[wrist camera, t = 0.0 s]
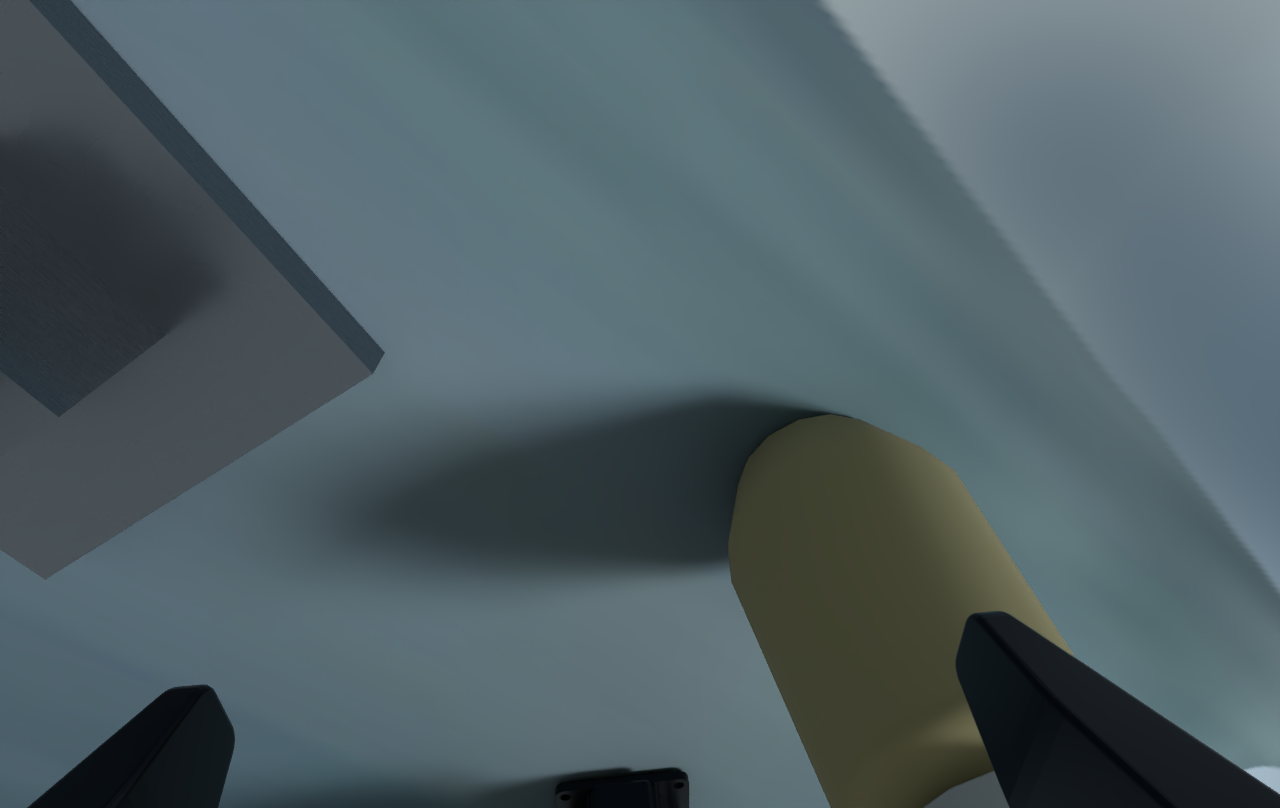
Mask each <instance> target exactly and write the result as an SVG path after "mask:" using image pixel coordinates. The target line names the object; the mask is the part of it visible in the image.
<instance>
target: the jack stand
mask: <svg viewBox="0 0 1280 808" xmlns="http://www.w3.org/2000/svg"><path fill="white" fill-rule="evenodd" d="M383 355H384V351H383V350H382V349H381V348H380V347H379V346H378V345H377V344H376V342H375V341H374V340H373V339H372V338H371V337H370V336H369V335H368V333H367V332H366V331H365V330H364V329H363V328H362V327H361V326H360V325H359V323H358V322H357V321H356V320H355V319H354V318H353V317H352V316H351V314H350V313H349V312H348V311H347V310H346V309H345V308H344V307H343V305H342V304H341V303H340V302H339V301H338V300H337V299H336V298H335V296H334V295H333V294H332V293H331V292H330V291H329V290H328V289H327V288H326V286H325V285H324V284H323V283H322V282H321V281H320V280H319V279H318V277H317V276H316V275H315V274H314V273H313V272H312V271H311V270H310V268H309V267H308V266H307V265H306V264H305V263H304V262H303V261H302V259H301V258H300V257H299V256H298V255H297V254H296V253H295V252H294V251H293V249H292V248H291V247H290V246H289V245H288V244H287V243H286V242H285V240H284V239H283V238H282V237H281V236H280V235H279V234H278V233H277V231H276V230H275V229H274V228H273V227H272V226H271V225H270V224H269V223H268V221H267V220H266V219H265V218H264V217H263V216H262V215H261V214H260V212H259V211H258V210H257V209H256V208H255V207H254V206H253V205H252V203H251V202H250V201H249V200H248V199H247V198H246V197H245V196H244V194H243V193H242V192H241V191H240V190H239V189H238V188H237V187H236V186H235V184H234V183H233V182H232V181H231V180H230V179H229V178H228V177H227V175H226V174H225V173H224V172H223V171H222V170H221V169H220V168H219V166H218V165H217V164H216V163H215V162H214V161H213V160H212V159H211V158H210V156H209V155H208V154H207V153H206V152H205V151H204V150H203V149H202V147H201V146H200V145H199V144H198V143H197V142H196V141H195V140H194V138H193V137H192V136H191V135H190V134H189V133H188V132H187V131H186V129H185V128H184V127H183V126H182V125H181V124H180V123H179V122H178V121H177V119H176V118H175V117H174V116H173V115H172V114H171V113H170V112H169V110H168V109H167V108H166V107H165V106H164V105H163V104H162V103H161V101H160V100H159V99H158V98H157V97H156V96H155V95H154V94H153V93H152V91H151V90H150V89H149V88H148V87H147V86H146V85H145V84H144V82H143V81H142V80H141V79H140V78H139V77H138V76H137V75H136V73H135V72H134V71H133V70H132V69H131V68H130V67H129V66H128V64H127V63H126V62H125V61H124V60H123V59H122V58H121V57H120V56H119V54H118V53H117V52H116V51H115V50H114V49H113V48H112V47H111V45H110V44H109V43H108V42H107V41H106V40H105V39H104V38H103V36H102V35H101V34H100V33H99V32H98V31H97V30H96V29H95V27H94V26H93V25H92V24H91V23H90V22H89V21H88V20H87V19H86V17H85V16H84V15H83V14H82V13H81V12H80V11H79V10H78V8H77V7H76V6H75V5H74V4H73V3H72V2H71V1H70V0H0V549H1V550H2V551H4V552H5V553H7V554H8V555H9V556H11V557H12V558H14V559H15V560H17V561H18V562H20V563H21V564H23V565H24V566H26V567H27V568H29V569H30V570H32V571H33V572H35V573H36V574H38V575H39V576H41V577H42V578H44V579H47V578H48V577H50V576H52V575H53V574H55V573H56V572H58V571H60V570H61V569H63V568H64V567H66V566H67V565H69V564H71V563H72V562H74V561H75V560H77V559H79V558H80V557H82V556H83V555H85V554H87V553H88V552H90V551H91V550H93V549H95V548H96V547H98V546H99V545H101V544H103V543H104V542H106V541H107V540H109V539H110V538H112V537H114V536H115V535H117V534H118V533H120V532H122V531H123V530H125V529H126V528H128V527H130V526H131V525H133V524H134V523H136V522H138V521H139V520H141V519H142V518H144V517H146V516H147V515H149V514H150V513H152V512H153V511H155V510H157V509H158V508H160V507H161V506H163V505H165V504H166V503H168V502H169V501H171V500H173V499H174V498H176V497H177V496H179V495H181V494H182V493H184V492H185V491H187V490H188V489H190V488H192V487H193V486H195V485H196V484H198V483H200V482H201V481H203V480H204V479H206V478H208V477H209V476H211V475H212V474H214V473H216V472H217V471H219V470H220V469H222V468H224V467H225V466H227V465H228V464H230V463H231V462H233V461H235V460H236V459H238V458H239V457H241V456H243V455H244V454H246V453H247V452H249V451H251V450H252V449H254V448H255V447H257V446H259V445H260V444H262V443H263V442H265V441H267V440H268V439H270V438H271V437H273V436H274V435H276V434H278V433H279V432H281V431H282V430H284V429H286V428H287V427H289V426H290V425H292V424H294V423H295V422H297V421H298V420H300V419H302V418H303V417H305V416H306V415H308V414H310V413H311V412H313V411H314V410H316V409H317V408H319V407H321V406H322V405H324V404H325V403H327V402H329V401H330V400H332V399H333V398H335V397H337V396H338V395H340V394H341V393H343V392H345V391H346V390H348V389H349V388H351V387H352V386H354V385H356V384H357V383H359V382H360V381H362V380H364V379H365V378H367V377H368V376H370V375H372V374H373V372H374V371H375V369H376V367H377V365H378V364H379V362H380V360H381V358H382V357H383Z"/></svg>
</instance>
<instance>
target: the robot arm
mask: <svg viewBox="0 0 1280 808" xmlns="http://www.w3.org/2000/svg"><path fill="white" fill-rule="evenodd" d="M955 667H956V673H957V677H958V680H959V682H960V685H961V688H962V690H963V693H964V695H965V698H966V700H967V703H968V705H969V708H970V711H971V713H972V716H973V718H974V721H975V723H976V726H977V728H978V731H979V734H980V736H981V739H982V741H983V744H984V746H985V749H986V751H987V754H988V756H989V759H990V762H991V764H992V767H993V769H994V772H995V774H996V777H997V779H998V782H999V784H1000V787H1001V789H1002V792H1003V794H1004V796H1005V799H1006V801H1007V803H1008V805H1009V808H1280V794H1278V793H1277V792H1276V791H1274V790H1273V789H1271V788H1270V787H1268V786H1267V785H1265V784H1264V783H1262V782H1261V781H1259V780H1258V779H1256V778H1255V777H1253V776H1252V775H1250V774H1249V773H1247V772H1246V771H1244V770H1243V769H1241V768H1240V767H1238V766H1237V765H1235V764H1234V763H1232V762H1231V761H1229V760H1228V759H1226V758H1225V757H1223V756H1222V755H1220V754H1219V753H1217V752H1216V751H1214V750H1213V749H1211V748H1210V747H1208V746H1207V745H1205V744H1204V743H1202V742H1201V741H1199V740H1198V739H1196V738H1195V737H1193V736H1192V735H1190V734H1189V733H1187V732H1186V731H1184V730H1183V729H1181V728H1180V727H1178V726H1177V725H1175V724H1174V723H1172V722H1171V721H1169V720H1168V719H1166V718H1165V717H1163V716H1162V715H1160V714H1159V713H1157V712H1156V711H1154V710H1153V709H1151V708H1150V707H1148V706H1147V705H1145V704H1144V703H1142V702H1141V701H1139V700H1138V699H1136V698H1135V697H1133V696H1132V695H1130V694H1129V693H1127V692H1126V691H1124V690H1123V689H1121V688H1120V687H1118V686H1117V685H1115V684H1114V683H1112V682H1111V681H1109V680H1108V679H1106V678H1105V677H1103V676H1102V675H1100V674H1099V673H1097V672H1096V671H1094V670H1093V669H1091V668H1090V667H1088V666H1087V665H1085V664H1084V663H1082V662H1081V661H1079V660H1078V659H1076V658H1075V657H1073V656H1072V655H1070V654H1069V653H1067V652H1066V651H1064V650H1063V649H1061V648H1060V647H1058V646H1057V645H1055V644H1054V643H1052V642H1051V641H1049V640H1048V639H1046V638H1045V637H1044V636H1042V635H1041V634H1039V633H1038V632H1036V631H1035V630H1033V629H1032V628H1030V627H1029V626H1027V625H1026V624H1024V623H1023V622H1021V621H1020V620H1018V619H1017V618H1015V617H1014V616H1012V615H1010V614H1008V613H1006V612H1003V611H989V612H978V613H973V614H971V615H970V616H969V617H968V618H967V620H966V622H965V626H964V629H963V633H962V637H961V640H960V644H959V647H958V651H957V654H956V659H955ZM234 744H235V734H234V729H233V726H232V724H231V722H230V720H229V718H228V716H227V714H226V712H225V710H224V708H223V706H222V704H221V702H220V700H219V698H218V696H217V694H216V692H215V691H214V689H213V688H211V687H210V686H208V685H192V686H181V687H174V688H171V689H169V690H167V691H165V692H164V693H162V694H161V695H160V696H159V697H157V698H156V699H155V700H154V701H153V702H151V703H150V704H149V705H148V706H147V707H146V708H144V709H143V710H142V711H141V712H140V713H138V714H137V715H136V716H135V717H134V718H133V719H131V720H130V721H129V722H128V723H127V724H125V725H124V726H123V727H122V728H121V729H120V730H118V731H117V732H116V733H115V734H114V735H112V736H111V737H110V738H109V739H108V740H107V741H105V742H104V743H103V744H102V745H101V746H99V747H98V748H97V749H96V750H95V751H94V752H92V753H91V754H90V755H89V756H88V757H86V758H85V759H84V760H83V761H82V762H81V763H79V764H78V765H77V766H76V767H75V768H73V769H72V770H71V771H70V772H69V773H68V774H66V775H65V776H64V777H63V778H62V779H60V780H59V781H58V782H57V783H56V784H55V785H53V786H52V787H51V788H50V789H49V790H47V791H46V792H45V793H44V794H43V795H42V796H40V797H39V798H38V799H37V800H36V801H34V802H33V803H32V804H31V805H30V806H29V807H27V808H218V806H219V802H220V798H221V795H222V791H223V787H224V784H225V780H226V776H227V773H228V769H229V765H230V762H231V758H232V754H233V750H234ZM555 801H556V808H689V780H688V775H687V774H686V773H685V772H682V771H677V772H667V773H658V774H648V775H639V776H629V777H619V778H610V779H600V780H591V781H581V782H571V783H563V784H560V785H558V786H557V787H556V789H555Z"/></svg>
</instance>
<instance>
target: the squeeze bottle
mask: <svg viewBox="0 0 1280 808" xmlns="http://www.w3.org/2000/svg"><path fill="white" fill-rule="evenodd" d="M728 554H729V563H730V572H731V581H732V584H733V586H734V589H735V591H736V593H737V595H738V598H739V600H740V602H741V604H742V607H743V609H744V611H745V614H746V616H747V618H748V620H749V623H750V625H751V627H752V629H753V632H754V634H755V636H756V639H757V641H758V643H759V645H760V648H761V650H762V652H763V654H764V657H765V659H766V661H767V664H768V666H769V668H770V670H771V673H772V675H773V677H774V679H775V682H776V684H777V686H778V689H779V691H780V693H781V695H782V698H783V700H784V702H785V704H786V707H787V709H788V711H789V714H790V716H791V718H792V720H793V723H794V725H795V727H796V729H797V732H798V734H799V736H800V739H801V741H802V743H803V745H804V748H805V750H806V752H807V754H808V757H809V759H810V761H811V764H812V766H813V768H814V770H815V773H816V775H817V777H818V779H819V782H820V784H821V786H822V789H823V791H824V793H825V795H826V798H827V800H828V802H829V804H830V807H831V808H1009V805H1008V803H1007V801H1006V799H1005V796H1004V794H1003V792H1002V789H1001V787H1000V784H999V782H998V779H997V777H996V774H995V772H994V769H993V767H992V764H991V762H990V759H989V756H988V754H987V751H986V749H985V746H984V744H983V741H982V739H981V736H980V734H979V731H978V728H977V726H976V723H975V721H974V718H973V716H972V713H971V711H970V708H969V705H968V703H967V700H966V698H965V695H964V693H963V690H962V688H961V685H960V682H959V680H958V677H957V673H956V667H955V659H956V654H957V651H958V647H959V644H960V640H961V637H962V633H963V629H964V626H965V622H966V620H967V618H968V617H969V616H970V615H971V614H973V613H978V612H989V611H1003V612H1006V613H1008V614H1010V615H1012V616H1014V617H1015V618H1017V619H1018V620H1020V621H1021V622H1023V623H1024V624H1026V625H1027V626H1029V627H1030V628H1032V629H1033V630H1035V631H1036V632H1038V633H1039V634H1041V635H1042V636H1044V637H1045V638H1046V639H1048V640H1049V641H1051V642H1052V643H1054V644H1055V645H1057V646H1058V647H1060V648H1061V649H1063V650H1064V651H1066V652H1067V653H1069V654H1070V655H1072V656H1073V657H1074V655H1073V653H1072V652H1071V650H1070V649H1069V647H1068V646H1067V644H1066V643H1065V641H1064V640H1063V638H1062V636H1061V635H1060V633H1059V632H1058V630H1057V629H1056V627H1055V626H1054V624H1053V622H1052V621H1051V619H1050V618H1049V616H1048V615H1047V613H1046V612H1045V610H1044V609H1043V607H1042V605H1041V604H1040V602H1039V601H1038V599H1037V598H1036V596H1035V595H1034V593H1033V591H1032V590H1031V588H1030V587H1029V585H1028V584H1027V582H1026V581H1025V579H1024V578H1023V576H1022V574H1021V573H1020V571H1019V570H1018V568H1017V567H1016V565H1015V564H1014V562H1013V560H1012V559H1011V557H1010V556H1009V554H1008V553H1007V551H1006V550H1005V548H1004V547H1003V545H1002V543H1001V542H1000V540H999V539H998V537H997V536H996V534H995V533H994V531H993V529H992V528H991V526H990V525H989V523H988V522H987V520H986V519H985V517H984V516H983V514H982V512H981V511H980V509H979V508H978V506H977V505H976V503H975V502H974V500H973V498H972V497H971V495H970V494H969V492H968V491H967V489H966V488H965V486H964V485H963V483H962V481H961V480H960V478H959V477H958V475H957V474H956V472H955V471H954V470H953V469H951V468H950V467H949V466H947V465H946V464H944V463H943V462H942V461H940V460H939V459H937V458H936V457H935V456H933V455H932V454H930V453H929V452H927V451H926V450H925V449H923V448H922V447H920V446H917V445H915V444H913V443H911V442H909V441H906V440H904V439H902V438H900V437H898V436H895V435H893V434H891V433H889V432H886V431H884V430H882V429H880V428H878V427H875V426H873V425H871V424H869V423H867V422H864V421H862V420H860V419H854V418H849V417H843V416H838V415H833V414H828V415H822V416H817V417H811V418H805V419H799V420H797V421H795V422H793V423H791V424H789V425H787V426H786V427H784V428H782V429H780V430H778V431H776V432H774V433H773V434H771V435H769V436H768V437H767V438H766V439H765V440H764V441H763V442H762V444H761V445H760V446H759V447H758V448H757V449H756V450H755V451H754V452H753V453H752V454H751V455H750V457H749V458H748V460H747V462H746V465H745V468H744V470H743V473H742V475H741V478H740V481H739V483H738V489H737V495H736V500H735V506H734V512H733V518H732V524H731V530H730V536H729V541H728Z"/></svg>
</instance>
